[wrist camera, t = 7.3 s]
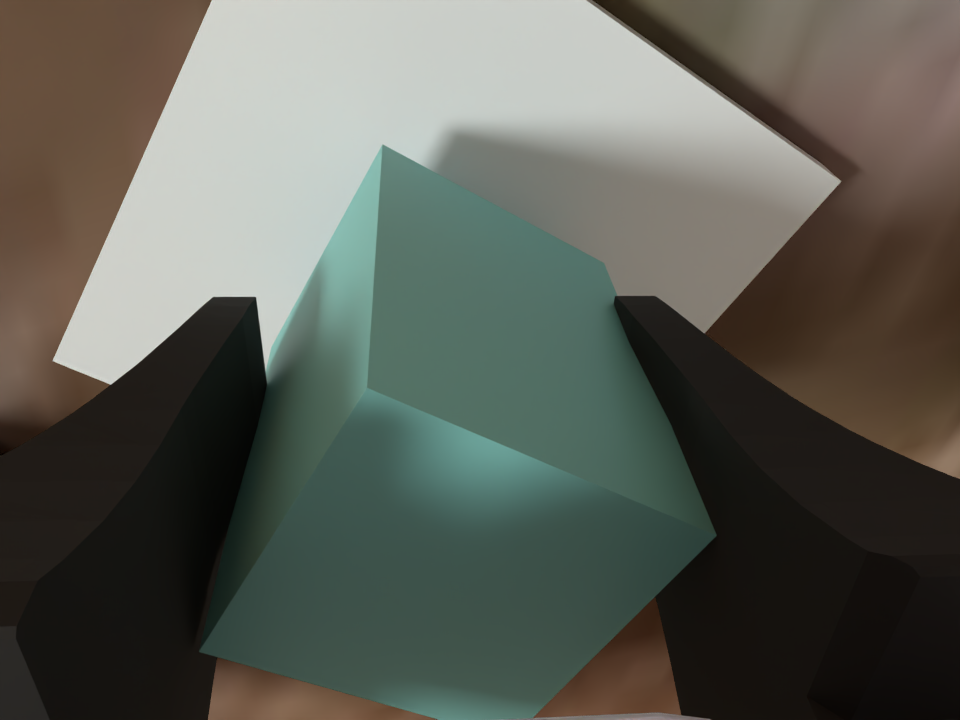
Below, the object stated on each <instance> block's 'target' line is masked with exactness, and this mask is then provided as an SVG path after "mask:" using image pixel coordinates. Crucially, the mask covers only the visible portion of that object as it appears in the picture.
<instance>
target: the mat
mask: <svg viewBox="0 0 960 720" xmlns="http://www.w3.org/2000/svg"><path fill="white" fill-rule="evenodd" d="M382 144H383V145H385V146H387V147H389V148H390V149H392V150H394V151H396V152H398V153H400V154H402V155H403V156H405V157H407V158H409V159H411V160H413V161H415V162H417V163H418V164H420V165H422V166H424V167H426V168H428V169H430V170H431V171H433V172H435V173H437V174H439V175H441V176H443V177H445V178H446V179H448V180H450V181H452V182H454V183H456V184H458V185H460V186H461V187H463V188H465V189H467V190H469V191H471V192H473V193H474V194H476V195H478V196H480V197H482V198H484V199H486V200H488V201H489V202H491V203H493V204H495V205H497V206H499V207H501V208H502V209H504V210H506V211H508V212H510V213H512V214H514V215H516V216H517V217H519V218H521V219H523V220H525V221H527V222H529V223H530V224H532V225H534V226H536V227H538V228H540V229H542V230H544V231H545V232H547V233H549V234H551V235H553V236H555V237H557V238H558V239H560V240H562V241H564V242H566V243H568V244H570V245H572V246H573V247H575V248H577V249H579V250H581V251H583V252H585V253H586V254H588V255H590V256H592V257H594V258H596V259H598V260H600V261H601V262H603V263H604V264H605V267H606V269H607V271H608V274H609V276H610V279H611V281H612V283H613V286H614V288H615V291H616V293H617V296H656V297H658V298H659V299H661V300H662V301H663V302H665V303H666V304H668V305H669V306H670V307H671V308H673V309H674V310H675V311H677V312H678V313H679V314H680V315H682V316H683V317H684V318H685V319H687V320H688V321H689V322H690V323H692V324H693V325H694V326H695V327H697V328H698V329H699V330H701V331H702V332H703V333H705V332H706V331H707V330H708V329H709V328H710V327H711V326H712V325H713V323H714V322H715V321H716V320H717V319H718V318H719V317H720V316H721V315H722V313H723V312H724V311H725V310H726V309H727V308H728V307H729V306H730V305H731V303H732V302H733V301H734V300H735V299H736V298H737V297H738V296H739V295H740V293H741V292H742V291H743V290H744V289H745V288H746V287H747V286H748V285H749V283H750V282H751V281H752V280H753V279H754V278H755V277H756V276H757V274H758V273H759V272H760V271H761V270H762V269H763V268H764V267H765V266H766V264H767V263H768V262H769V261H770V260H771V259H772V258H773V257H774V256H775V254H776V253H777V252H778V251H779V250H780V249H781V248H782V247H783V246H784V244H785V243H786V242H787V241H788V240H789V239H790V238H791V237H792V236H793V234H794V233H795V232H796V231H797V230H798V229H799V228H800V227H801V226H802V224H803V223H804V222H805V221H806V220H807V219H808V218H809V217H810V216H811V214H812V213H813V212H814V211H815V210H816V209H817V208H818V207H819V206H820V204H821V203H822V202H823V201H824V200H825V199H826V198H827V197H828V196H829V194H830V193H831V192H832V191H833V190H834V189H835V188H836V187H837V186H838V184H839V183H840V182H841V181H840V180H839V179H838V178H837V177H836V176H835V175H834V174H833V173H831V172H830V171H829V170H828V169H827V168H826V167H825V166H824V165H823V164H821V163H820V162H819V161H817V160H816V159H814V158H813V157H812V156H810V155H809V154H807V153H806V152H805V151H803V150H802V149H800V148H799V147H798V146H796V145H795V144H793V143H792V142H791V141H789V140H788V139H786V138H785V137H784V136H782V135H781V134H779V133H778V132H777V131H775V130H774V129H772V128H771V127H770V126H768V125H767V124H765V123H764V122H762V121H761V120H760V119H758V118H757V117H755V116H754V115H753V114H751V113H750V112H748V111H747V110H746V109H744V108H743V107H741V106H740V105H739V104H737V103H736V102H734V101H733V100H732V99H730V98H729V97H727V96H726V95H725V94H723V93H722V92H720V91H719V90H718V89H716V88H715V87H713V86H712V85H711V84H709V83H708V82H706V81H705V80H704V79H702V78H701V77H699V76H698V75H697V74H695V73H694V72H692V71H691V70H690V69H688V68H687V67H685V66H684V65H683V64H681V63H680V62H678V61H677V60H675V59H674V58H673V57H671V56H670V55H668V54H667V53H666V52H664V51H663V50H661V49H660V48H659V47H657V46H656V45H654V44H653V43H652V42H650V41H649V40H647V39H646V38H645V37H643V36H642V35H640V34H639V33H638V32H636V31H635V30H633V29H632V28H631V27H629V26H628V25H626V24H625V23H624V22H622V21H621V20H619V19H618V18H617V17H615V16H614V15H612V14H611V13H610V12H608V11H607V10H605V9H604V8H603V7H601V6H600V5H598V4H597V3H596V2H594V1H593V0H212V2H211V4H210V6H209V8H208V11H207V13H206V15H205V17H204V20H203V22H202V24H201V26H200V29H199V31H198V33H197V35H196V38H195V40H194V42H193V45H192V47H191V49H190V51H189V54H188V56H187V58H186V60H185V63H184V65H183V67H182V69H181V72H180V74H179V76H178V79H177V81H176V83H175V85H174V88H173V90H172V92H171V94H170V97H169V99H168V101H167V103H166V106H165V108H164V110H163V112H162V115H161V117H160V119H159V122H158V124H157V126H156V128H155V131H154V133H153V135H152V137H151V140H150V142H149V144H148V146H147V149H146V151H145V153H144V155H143V158H142V160H141V162H140V165H139V167H138V169H137V171H136V174H135V176H134V178H133V180H132V183H131V185H130V187H129V189H128V192H127V194H126V196H125V198H124V201H123V203H122V205H121V208H120V210H119V212H118V214H117V217H116V219H115V221H114V223H113V226H112V228H111V230H110V232H109V235H108V237H107V239H106V242H105V244H104V246H103V248H102V251H101V253H100V255H99V257H98V260H97V262H96V264H95V266H94V269H93V271H92V273H91V275H90V278H89V280H88V282H87V285H86V287H85V289H84V291H83V294H82V296H81V298H80V300H79V303H78V305H77V307H76V309H75V312H74V314H73V316H72V318H71V321H70V323H69V325H68V328H67V330H66V332H65V334H64V337H63V339H62V341H61V343H60V346H59V348H58V350H57V352H56V355H55V357H54V359H53V361H54V362H56V363H59V364H61V365H64V366H66V367H69V368H71V369H73V370H76V371H78V372H81V373H83V374H86V375H88V376H91V377H93V378H96V379H98V380H101V381H103V382H106V383H108V384H112V383H114V382H115V381H116V380H118V379H119V378H120V377H121V376H123V375H124V374H125V373H127V372H128V371H129V370H130V369H132V368H133V367H134V366H136V365H137V364H138V363H139V362H140V361H142V360H143V359H144V358H145V357H146V356H147V355H148V354H150V353H151V352H152V351H153V350H154V349H155V348H156V347H158V346H159V345H160V344H161V343H162V342H163V341H164V340H166V339H167V338H168V337H169V336H170V335H171V334H172V333H173V332H175V331H176V330H177V329H178V328H179V327H180V326H181V325H182V324H183V323H184V322H185V321H187V320H188V319H189V318H190V317H191V316H192V315H193V314H194V313H195V312H196V311H197V310H199V309H200V308H201V307H202V306H203V305H204V304H205V303H206V302H208V301H209V300H210V299H211V298H212V297H256V300H257V308H258V316H259V324H260V332H261V340H262V348H263V356H264V363H265V371H266V368H267V363H268V359H269V355H270V351H271V347H272V345H273V343H274V341H275V339H276V338H277V336H278V334H279V332H280V330H281V329H282V327H283V325H284V323H285V321H286V319H287V318H288V316H289V314H290V312H291V310H292V308H293V307H294V305H295V303H296V301H297V299H298V297H299V296H300V294H301V292H302V290H303V288H304V287H305V285H306V283H307V281H308V279H309V277H310V276H311V274H312V272H313V270H314V268H315V266H316V265H317V263H318V261H319V259H320V257H321V256H322V254H323V252H324V250H325V248H326V246H327V245H328V243H329V241H330V239H331V237H332V235H333V234H334V232H335V230H336V228H337V226H338V225H339V223H340V221H341V219H342V217H343V215H344V214H345V212H346V210H347V208H348V206H349V204H350V203H351V201H352V199H353V197H354V195H355V193H356V192H357V190H358V188H359V186H360V184H361V183H362V181H363V179H364V177H365V175H366V173H367V172H368V170H369V168H370V166H371V164H372V162H373V161H374V159H375V157H376V155H377V153H378V152H379V150H380V148H381V146H382Z"/></svg>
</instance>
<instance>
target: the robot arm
mask: <svg viewBox="0 0 960 720" xmlns="http://www.w3.org/2000/svg"><path fill="white" fill-rule="evenodd" d="M614 306H615V309H616V311H617V314H618V316H619V319H620V321H621V324H622V326H623V329H624V331H625V334H626V336H627V339H628V341H629V343H630V345H631V347H632V349H633V351H634V353H635V355H636V357H637V359H638V361H639V363H640V365H641V367H642V369H643V371H644V373H645V375H646V377H647V379H648V381H649V383H650V385H651V387H652V389H653V390H654V392H655V394H656V396H657V398H658V400H659V402H660V404H661V406H662V408H663V410H664V412H665V414H666V416H667V418H668V420H669V422H670V424H671V426H672V428H673V431H674V433H675V436H676V438H677V441H678V443H679V445H680V448H681V450H682V453H683V455H684V458H685V460H686V462H687V465H688V467H689V470H690V472H691V474H692V477H693V479H694V482H695V484H696V487H697V489H698V491H699V494H700V496H701V499H702V501H703V503H704V506H705V508H706V511H707V513H708V516H709V518H710V520H711V523H712V525H713V528H714V530H715V532H716V535H717V536H716V537H715V538H714V539H713V540H712V541H711V542H710V543H709V544H708V545H707V546H706V547H705V548H704V549H703V550H702V551H701V552H700V553H699V554H698V555H697V556H696V557H695V558H694V559H693V560H692V561H691V562H689V563H688V564H687V565H686V566H685V567H684V568H683V569H682V570H681V571H680V572H679V573H678V574H677V575H676V576H675V577H674V578H673V579H672V580H671V581H670V582H669V583H668V584H667V585H666V586H665V587H664V588H663V589H662V590H661V591H660V592H659V593H658V594H657V595H656V596H655V597H656V601H657V604H658V608H659V613H660V617H661V622H662V626H663V631H664V635H665V639H666V644H667V648H668V653H669V657H670V662H671V666H672V671H673V676H674V681H675V686H676V691H677V696H678V700H679V705H680V710H681V715H674V714H665V713H638V714H615V715H592V716H570V717H547V718H524V719H501V720H960V479H958V478H955V477H952V476H950V475H947V474H945V473H943V472H940V471H938V470H935V469H933V468H930V467H928V466H925V465H923V464H920V463H918V462H916V461H914V460H911V459H909V458H907V457H905V456H903V455H900V454H898V453H896V452H894V451H892V450H889V449H887V448H885V447H883V446H881V445H878V444H876V443H874V442H872V441H870V440H868V439H866V438H864V437H862V436H860V435H858V434H856V433H854V432H852V431H850V430H848V429H847V428H845V427H843V426H841V425H839V424H838V423H836V422H834V421H832V420H830V419H829V418H827V417H825V416H823V415H821V414H820V413H818V412H816V411H814V410H813V409H811V408H809V407H808V406H806V405H804V404H803V403H801V402H799V401H798V400H796V399H795V398H793V397H791V396H790V395H788V394H787V393H785V392H784V391H782V390H781V389H779V388H778V387H776V386H775V385H773V384H772V383H770V382H769V381H767V380H766V379H764V378H763V377H761V376H760V375H759V374H757V373H756V372H754V371H753V370H752V369H750V368H749V367H747V366H746V365H745V364H743V363H742V362H741V361H739V360H738V359H737V358H735V357H734V356H733V355H731V354H730V353H729V352H727V351H726V350H725V349H723V348H722V347H721V346H720V345H718V344H717V343H716V342H714V341H713V340H712V339H711V338H709V337H708V336H707V335H706V334H704V333H703V332H702V331H701V330H699V329H698V328H697V327H695V326H694V325H693V324H692V323H690V322H689V321H688V320H687V319H685V318H684V317H683V316H682V315H680V314H679V313H678V312H677V311H675V310H674V309H673V308H671V307H670V306H669V305H668V304H666V303H665V302H663V301H662V300H661V299H659V298H658V297H656V296H615V298H614ZM266 388H267V379H266V371H265V363H264V356H263V348H262V340H261V332H260V324H259V316H258V308H257V300H256V297H212V298H211V299H210V300H209V301H208V302H206V303H205V304H204V305H203V306H202V307H201V308H200V309H199V310H197V311H196V312H195V313H194V314H193V315H192V316H191V317H190V318H189V319H188V320H187V321H185V322H184V323H183V324H182V325H181V326H180V327H179V328H178V329H177V330H176V331H175V332H173V333H172V334H171V335H170V336H169V337H168V338H167V339H166V340H164V341H163V342H162V343H161V344H160V345H159V346H158V347H156V348H155V349H154V350H153V351H152V352H151V353H150V354H148V355H147V356H146V357H145V358H144V359H143V360H142V361H140V362H139V363H138V364H137V365H136V366H134V367H133V368H132V369H130V370H129V371H128V372H127V373H125V374H124V375H123V376H121V377H120V378H119V379H118V380H116V381H115V382H114V383H112V384H111V385H110V386H109V387H107V388H106V389H105V390H103V391H102V392H101V393H100V394H98V395H97V396H96V397H94V398H93V399H92V400H90V401H89V402H88V403H86V404H85V405H83V406H82V407H81V408H79V409H78V410H76V411H75V412H73V413H72V414H70V415H69V416H67V417H66V418H64V419H63V420H61V421H60V422H58V423H57V424H55V425H53V426H52V427H50V428H49V429H47V430H45V431H44V432H42V433H41V434H39V435H37V436H36V437H34V438H33V439H31V440H29V441H27V442H26V443H24V444H22V445H21V446H19V447H17V448H15V449H13V450H11V451H9V452H7V453H6V454H4V455H2V456H0V720H208V714H209V707H210V700H211V693H212V686H213V679H214V673H215V666H216V660H217V657H215V656H212V655H208V654H205V653H201V652H199V649H200V645H201V641H202V637H203V632H204V628H205V624H206V620H207V616H208V611H209V607H210V603H211V599H212V594H213V590H214V586H215V582H216V578H217V573H218V569H219V565H220V561H221V557H222V552H223V548H224V544H225V540H226V536H227V531H228V527H229V524H230V521H231V517H232V514H233V510H234V507H235V503H236V500H237V496H238V493H239V489H240V486H241V482H242V479H243V475H244V472H245V468H246V465H247V461H248V458H249V454H250V451H251V448H252V444H253V441H254V437H255V434H256V430H257V427H258V422H259V418H260V414H261V409H262V405H263V401H264V396H265V392H266Z"/></svg>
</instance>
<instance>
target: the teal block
mask: <svg viewBox="0 0 960 720" xmlns="http://www.w3.org/2000/svg"><path fill="white" fill-rule="evenodd" d="M615 296H617V293H616V291H615V288H614V286H613V283H612V281H611V279H610V276H609V274H608V271H607V269H606V267H605V264H604V263H603V262H601V261H600V260H598V259H596V258H594V257H592V256H590V255H588V254H586V253H585V252H583V251H581V250H579V249H577V248H575V247H573V246H572V245H570V244H568V243H566V242H564V241H562V240H560V239H558V238H557V237H555V236H553V235H551V234H549V233H547V232H545V231H544V230H542V229H540V228H538V227H536V226H534V225H532V224H530V223H529V222H527V221H525V220H523V219H521V218H519V217H517V216H516V215H514V214H512V213H510V212H508V211H506V210H504V209H502V208H501V207H499V206H497V205H495V204H493V203H491V202H489V201H488V200H486V199H484V198H482V197H480V196H478V195H476V194H474V193H473V192H471V191H469V190H467V189H465V188H463V187H461V186H460V185H458V184H456V183H454V182H452V181H450V180H448V179H446V178H445V177H443V176H441V175H439V174H437V173H435V172H433V171H431V170H430V169H428V168H426V167H424V166H422V165H420V164H418V163H417V162H415V161H413V160H411V159H409V158H407V157H405V156H403V155H402V154H400V153H398V152H396V151H394V150H392V149H390V148H389V147H387V146H385V145H383V144H382V146H381V148H380V150H379V152H378V153H377V155H376V157H375V159H374V161H373V162H372V164H371V166H370V168H369V170H368V172H367V173H366V175H365V177H364V179H363V181H362V183H361V184H360V186H359V188H358V190H357V192H356V193H355V195H354V197H353V199H352V201H351V203H350V204H349V206H348V208H347V210H346V212H345V214H344V215H343V217H342V219H341V221H340V223H339V225H338V226H337V228H336V230H335V232H334V234H333V235H332V237H331V239H330V241H329V243H328V245H327V246H326V248H325V250H324V252H323V254H322V256H321V257H320V259H319V261H318V263H317V265H316V266H315V268H314V270H313V272H312V274H311V276H310V277H309V279H308V281H307V283H306V285H305V287H304V288H303V290H302V292H301V294H300V296H299V297H298V299H297V301H296V303H295V305H294V307H293V308H292V310H291V312H290V314H289V316H288V318H287V319H286V321H285V323H284V325H283V327H282V329H281V330H280V332H279V334H278V336H277V338H276V339H275V341H274V343H273V345H272V347H271V351H270V355H269V359H268V363H267V368H266V379H267V388H266V392H265V396H264V401H263V405H262V409H261V414H260V418H259V422H258V427H257V430H256V434H255V437H254V441H253V444H252V448H251V451H250V454H249V458H248V461H247V465H246V468H245V472H244V475H243V479H242V482H241V486H240V489H239V493H238V496H237V500H236V503H235V507H234V510H233V514H232V517H231V521H230V524H229V527H228V531H227V536H226V540H225V544H224V548H223V552H222V557H221V561H220V565H219V569H218V573H217V578H216V582H215V586H214V590H213V594H212V599H211V603H210V607H209V611H208V616H207V620H206V624H205V628H204V632H203V637H202V641H201V645H200V649H199V652H201V653H205V654H208V655H212V656H215V657H219V658H222V659H226V660H229V661H233V662H236V663H240V664H244V665H247V666H251V667H254V668H258V669H261V670H265V671H268V672H272V673H276V674H279V675H283V676H286V677H290V678H293V679H297V680H300V681H304V682H307V683H311V684H315V685H318V686H322V687H325V688H329V689H332V690H336V691H339V692H343V693H346V694H350V695H354V696H357V697H361V698H364V699H368V700H371V701H375V702H378V703H382V704H386V705H389V706H393V707H396V708H400V709H403V710H407V711H410V712H414V713H417V714H421V715H425V716H428V717H432V718H435V719H439V720H501V719H524V718H533V717H534V716H535V715H536V714H537V713H538V712H539V711H540V710H541V709H542V708H543V707H544V706H545V705H546V704H547V703H548V702H549V701H550V700H551V699H552V698H553V697H554V696H555V695H556V694H557V693H558V692H559V691H560V690H561V689H562V688H563V687H564V686H565V685H566V684H567V683H568V682H569V681H570V680H571V679H572V678H573V677H574V676H575V675H576V674H577V673H578V672H579V671H580V670H581V669H582V668H583V667H584V666H585V665H586V664H587V663H588V662H589V661H590V660H591V659H592V658H593V657H594V656H595V655H596V654H597V653H599V652H600V651H601V650H602V649H603V648H604V647H605V646H606V645H607V644H608V643H609V642H610V641H611V640H612V639H613V638H614V637H615V636H616V635H617V634H618V633H619V632H620V631H621V630H622V629H623V628H624V627H625V626H626V625H627V624H628V623H629V622H630V621H631V620H632V619H633V618H634V617H635V616H636V615H637V614H638V613H639V612H640V611H641V610H642V609H643V608H644V607H645V606H646V605H647V604H648V603H649V602H650V601H651V600H652V599H653V598H654V597H655V596H656V595H657V594H658V593H659V592H660V591H661V590H662V589H663V588H664V587H665V586H666V585H667V584H668V583H669V582H670V581H671V580H672V579H673V578H674V577H675V576H676V575H677V574H678V573H679V572H680V571H681V570H682V569H683V568H684V567H685V566H686V565H687V564H688V563H689V562H691V561H692V560H693V559H694V558H695V557H696V556H697V555H698V554H699V553H700V552H701V551H702V550H703V549H704V548H705V547H706V546H707V545H708V544H709V543H710V542H711V541H712V540H713V539H714V538H715V537H716V536H717V535H716V532H715V530H714V528H713V525H712V523H711V520H710V518H709V516H708V513H707V511H706V508H705V506H704V503H703V501H702V499H701V496H700V494H699V491H698V489H697V487H696V484H695V482H694V479H693V477H692V474H691V472H690V470H689V467H688V465H687V462H686V460H685V458H684V455H683V453H682V450H681V448H680V445H679V443H678V441H677V438H676V436H675V433H674V431H673V428H672V426H671V424H670V422H669V420H668V418H667V416H666V414H665V412H664V410H663V408H662V406H661V404H660V402H659V400H658V398H657V396H656V394H655V392H654V390H653V389H652V387H651V385H650V383H649V381H648V379H647V377H646V375H645V373H644V371H643V369H642V367H641V365H640V363H639V361H638V359H637V357H636V355H635V353H634V351H633V349H632V347H631V345H630V343H629V341H628V339H627V336H626V334H625V331H624V329H623V326H622V324H621V321H620V319H619V316H618V314H617V311H616V309H615V306H614V298H615Z"/></svg>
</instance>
